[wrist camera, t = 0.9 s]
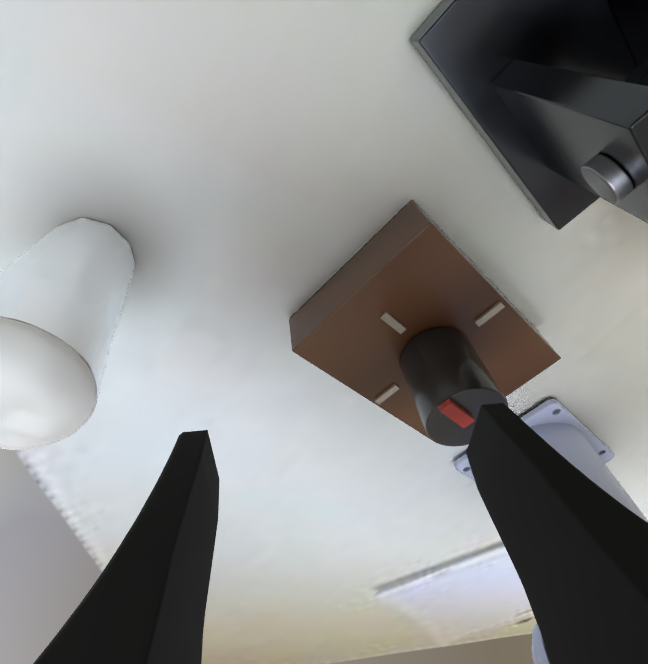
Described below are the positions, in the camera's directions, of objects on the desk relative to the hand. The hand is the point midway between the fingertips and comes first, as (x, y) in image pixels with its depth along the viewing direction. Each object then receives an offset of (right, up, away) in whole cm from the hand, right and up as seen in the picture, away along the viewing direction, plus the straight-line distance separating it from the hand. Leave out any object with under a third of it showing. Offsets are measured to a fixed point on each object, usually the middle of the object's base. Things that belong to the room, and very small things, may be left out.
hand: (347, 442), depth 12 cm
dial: (+5, +2, +9) cm, 10 cm away
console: (+4, +3, +11) cm, 12 cm away
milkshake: (-11, +6, +7) cm, 14 cm away
